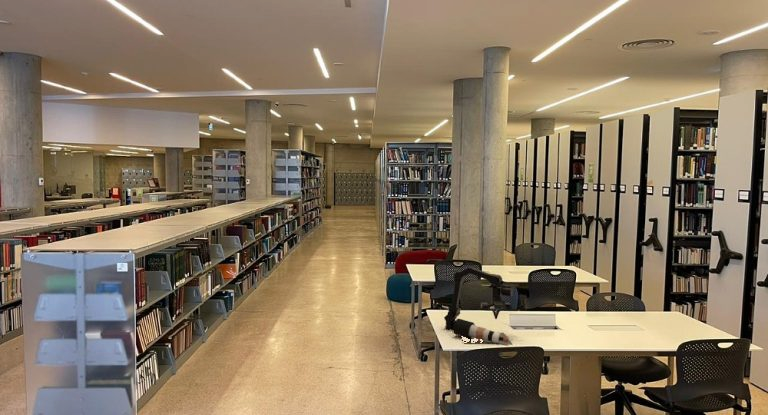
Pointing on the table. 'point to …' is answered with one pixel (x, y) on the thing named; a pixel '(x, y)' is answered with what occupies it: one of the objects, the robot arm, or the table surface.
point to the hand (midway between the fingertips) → (495, 319)
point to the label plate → (490, 341)
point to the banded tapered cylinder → (476, 331)
